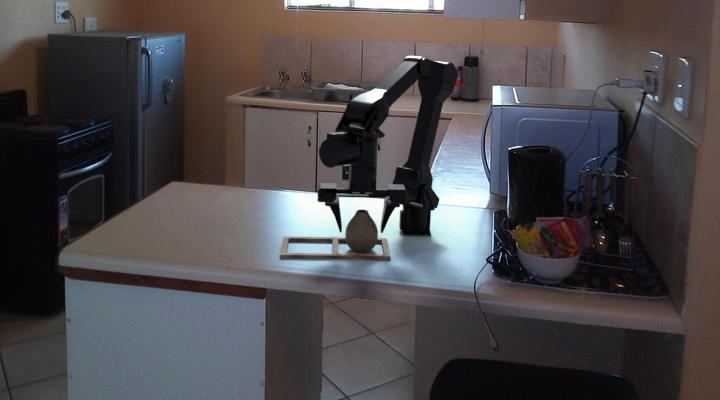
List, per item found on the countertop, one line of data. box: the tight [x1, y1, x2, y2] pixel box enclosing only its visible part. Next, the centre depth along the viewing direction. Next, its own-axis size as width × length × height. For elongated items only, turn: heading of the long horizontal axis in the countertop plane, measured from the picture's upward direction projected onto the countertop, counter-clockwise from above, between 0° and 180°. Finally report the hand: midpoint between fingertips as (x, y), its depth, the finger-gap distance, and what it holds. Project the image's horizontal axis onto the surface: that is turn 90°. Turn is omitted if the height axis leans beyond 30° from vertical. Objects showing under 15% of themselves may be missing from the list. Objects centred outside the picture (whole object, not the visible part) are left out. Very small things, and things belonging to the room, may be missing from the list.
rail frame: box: [279, 236, 392, 261], centre depth 163 cm, size 23×12×1 cm, turn 92°
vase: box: [344, 209, 379, 254], centre depth 162 cm, size 7×7×9 cm
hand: (361, 232), depth 163 cm, fingers open, 8 cm apart
